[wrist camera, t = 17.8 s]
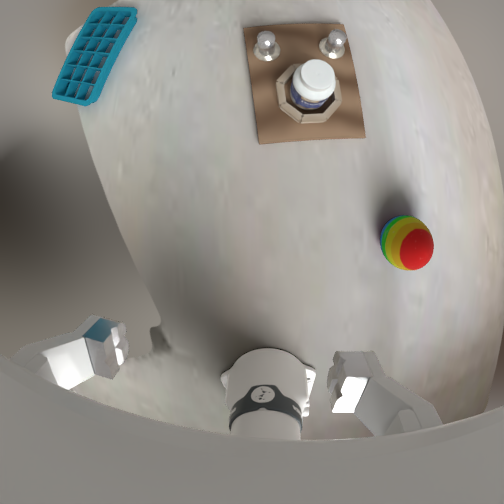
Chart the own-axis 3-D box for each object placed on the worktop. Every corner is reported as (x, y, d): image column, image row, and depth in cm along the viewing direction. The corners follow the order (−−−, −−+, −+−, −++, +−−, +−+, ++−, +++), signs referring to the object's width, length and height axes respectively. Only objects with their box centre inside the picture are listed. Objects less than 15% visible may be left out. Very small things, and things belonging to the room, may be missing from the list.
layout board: (363, 138, 38) (369, 136, 35) (259, 144, 39) (258, 142, 36) (342, 27, 32) (346, 19, 29) (244, 31, 34) (241, 22, 31)
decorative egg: (364, 235, 42) (388, 254, 33) (398, 201, 40) (429, 211, 31) (392, 268, 44) (417, 293, 34) (423, 236, 42) (454, 254, 32)
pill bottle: (295, 114, 37) (302, 98, 27) (285, 81, 35) (288, 58, 26) (330, 107, 36) (347, 91, 27) (319, 75, 34) (332, 51, 25)
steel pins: (346, 59, 33) (354, 47, 28) (255, 63, 34) (253, 50, 30) (341, 38, 32) (349, 25, 27) (252, 41, 33) (249, 27, 29)
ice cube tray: (145, 14, 33) (139, 7, 30) (98, 109, 39) (89, 107, 36) (101, 12, 32) (94, 7, 29) (59, 99, 38) (49, 98, 35)
